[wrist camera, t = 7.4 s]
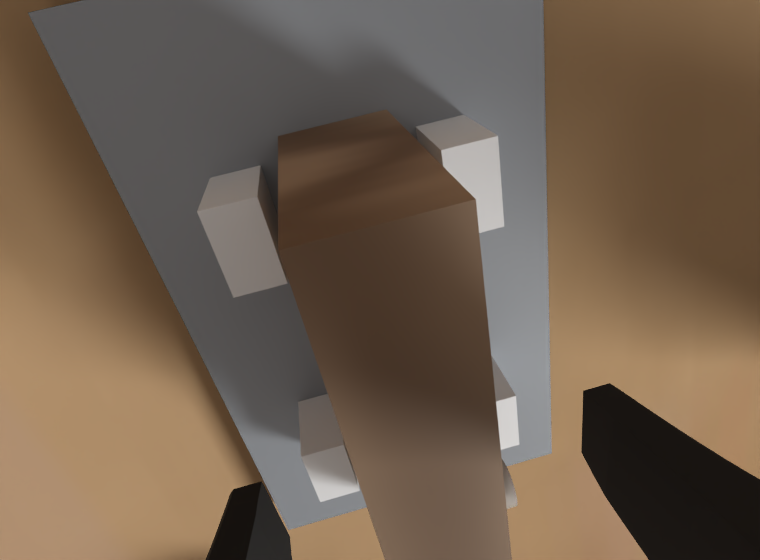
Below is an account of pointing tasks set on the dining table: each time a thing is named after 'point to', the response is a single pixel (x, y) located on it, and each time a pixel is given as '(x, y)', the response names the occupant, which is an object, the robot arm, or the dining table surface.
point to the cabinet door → (399, 332)
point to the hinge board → (260, 185)
